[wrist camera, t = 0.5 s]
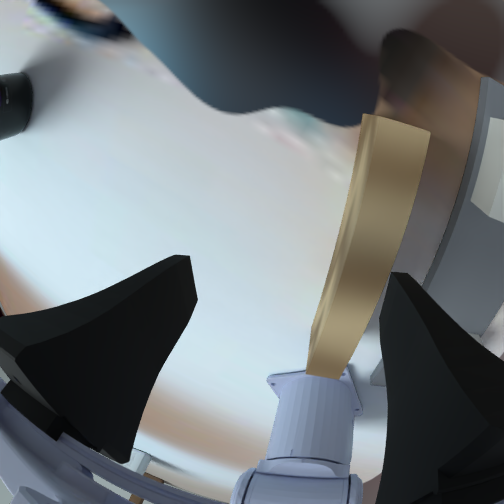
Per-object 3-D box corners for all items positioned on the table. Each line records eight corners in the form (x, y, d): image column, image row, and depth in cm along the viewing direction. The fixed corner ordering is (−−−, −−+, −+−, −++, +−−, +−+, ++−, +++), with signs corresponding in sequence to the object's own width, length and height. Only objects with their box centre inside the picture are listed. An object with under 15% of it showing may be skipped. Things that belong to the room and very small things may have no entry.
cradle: (436, 382, 22) (441, 410, 19) (370, 376, 23) (371, 406, 20) (555, 127, 9) (583, 137, 6) (481, 77, 10) (510, 75, 7)
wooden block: (163, 480, 80) (147, 513, 65) (164, 481, 83) (149, 514, 67) (142, 471, 81) (126, 503, 66) (144, 473, 84) (129, 504, 68)
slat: (340, 330, 22) (338, 379, 17) (311, 325, 22) (305, 373, 18) (401, 123, 14) (430, 132, 9) (362, 113, 14) (379, 116, 10)
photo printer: (127, 448, 63) (111, 478, 52) (119, 441, 61) (102, 473, 50) (154, 458, 59) (137, 491, 49) (146, 452, 58) (129, 486, 47)
